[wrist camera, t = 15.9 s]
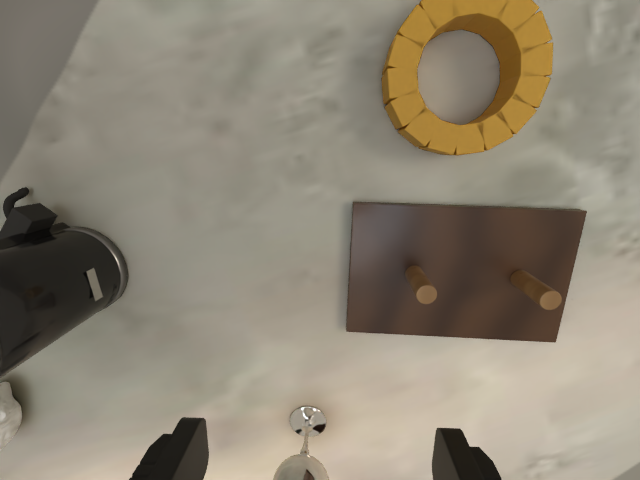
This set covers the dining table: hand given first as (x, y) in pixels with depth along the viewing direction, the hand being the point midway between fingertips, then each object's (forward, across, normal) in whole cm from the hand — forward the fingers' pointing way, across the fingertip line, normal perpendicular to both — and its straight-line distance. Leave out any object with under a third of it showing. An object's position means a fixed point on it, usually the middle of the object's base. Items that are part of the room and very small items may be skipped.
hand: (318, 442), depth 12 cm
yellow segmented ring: (+24, -11, -16) cm, 31 cm away
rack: (+24, -13, +2) cm, 28 cm away
